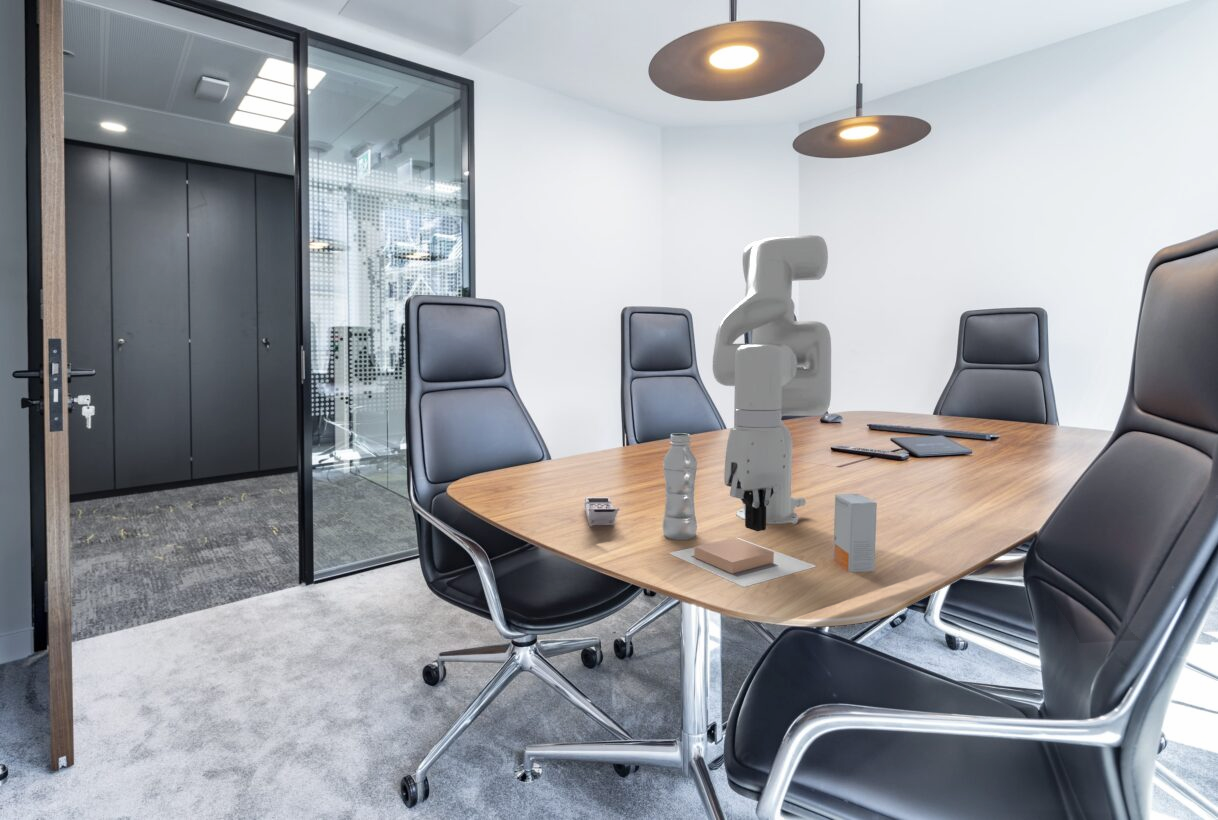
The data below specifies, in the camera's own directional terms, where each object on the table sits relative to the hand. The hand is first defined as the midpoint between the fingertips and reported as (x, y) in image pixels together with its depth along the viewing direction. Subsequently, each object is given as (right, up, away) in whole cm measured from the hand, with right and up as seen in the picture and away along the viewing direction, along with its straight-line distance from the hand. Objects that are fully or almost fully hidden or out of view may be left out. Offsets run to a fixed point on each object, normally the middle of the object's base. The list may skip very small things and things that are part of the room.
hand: (755, 528), depth 103 cm
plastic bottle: (-11, -5, +12) cm, 17 cm away
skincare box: (+15, -6, -4) cm, 17 cm away
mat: (-3, -6, -1) cm, 7 cm away
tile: (0, -4, 0) cm, 4 cm away
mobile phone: (-26, -4, +27) cm, 38 cm away
